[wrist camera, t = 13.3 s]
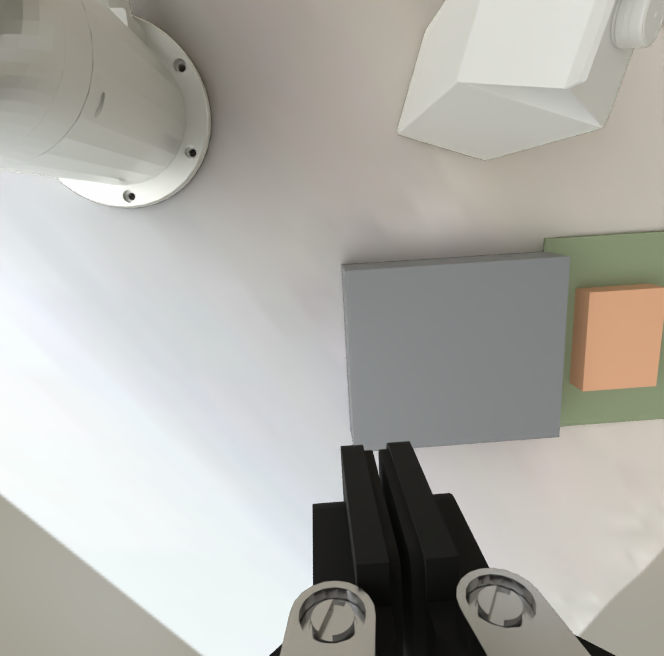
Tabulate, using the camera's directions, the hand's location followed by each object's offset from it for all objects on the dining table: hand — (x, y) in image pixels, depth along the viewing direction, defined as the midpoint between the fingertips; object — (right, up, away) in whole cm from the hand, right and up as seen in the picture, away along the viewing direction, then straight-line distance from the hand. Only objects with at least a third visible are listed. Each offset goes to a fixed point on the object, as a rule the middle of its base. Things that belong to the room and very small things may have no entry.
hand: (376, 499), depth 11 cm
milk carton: (+8, +21, +23) cm, 32 cm away
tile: (+22, +3, +26) cm, 34 cm away
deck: (+8, +3, +28) cm, 29 cm away
